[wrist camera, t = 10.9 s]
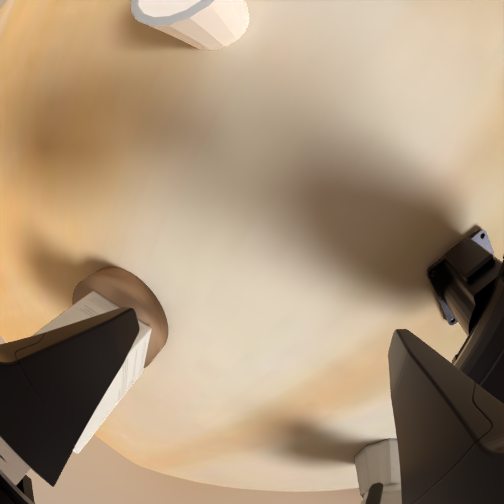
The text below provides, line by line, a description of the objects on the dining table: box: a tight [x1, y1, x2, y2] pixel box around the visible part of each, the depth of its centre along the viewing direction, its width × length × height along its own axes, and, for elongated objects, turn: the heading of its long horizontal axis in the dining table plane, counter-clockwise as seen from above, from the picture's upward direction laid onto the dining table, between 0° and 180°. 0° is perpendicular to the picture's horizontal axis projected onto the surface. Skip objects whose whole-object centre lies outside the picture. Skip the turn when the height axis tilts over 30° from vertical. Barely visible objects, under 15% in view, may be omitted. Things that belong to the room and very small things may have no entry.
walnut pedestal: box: [73, 267, 168, 368], centre depth 26 cm, size 11×11×3 cm
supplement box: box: [33, 291, 152, 454], centre depth 19 cm, size 7×7×13 cm
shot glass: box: [131, 0, 250, 50], centre depth 13 cm, size 7×7×7 cm
